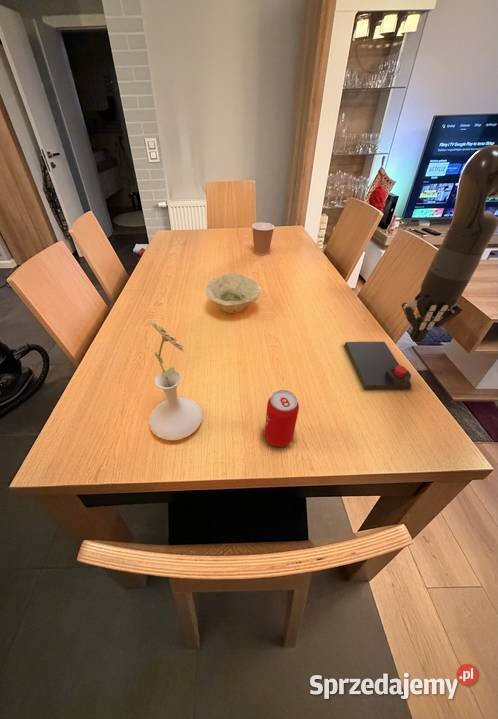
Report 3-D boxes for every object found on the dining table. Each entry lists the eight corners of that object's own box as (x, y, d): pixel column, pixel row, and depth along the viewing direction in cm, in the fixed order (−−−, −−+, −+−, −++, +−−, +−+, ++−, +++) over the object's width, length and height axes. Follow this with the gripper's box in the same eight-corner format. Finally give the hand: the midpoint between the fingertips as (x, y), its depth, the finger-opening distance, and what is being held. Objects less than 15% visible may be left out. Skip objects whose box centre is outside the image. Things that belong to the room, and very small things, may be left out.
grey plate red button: (410, 390, 77) (415, 380, 75) (365, 391, 77) (369, 381, 74) (382, 345, 91) (386, 336, 89) (344, 346, 90) (347, 336, 88)
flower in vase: (208, 435, 65) (199, 345, 49) (154, 451, 62) (125, 360, 45) (194, 393, 74) (183, 305, 58) (147, 405, 71) (120, 315, 54)
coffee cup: (264, 246, 149) (265, 221, 141) (276, 253, 143) (279, 227, 135) (246, 250, 145) (247, 224, 137) (258, 257, 138) (260, 231, 130)
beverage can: (285, 421, 68) (292, 385, 61) (297, 444, 64) (306, 408, 56) (260, 428, 67) (263, 391, 59) (270, 451, 62) (275, 415, 55)
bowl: (243, 308, 113) (272, 295, 103) (212, 326, 101) (240, 313, 90) (226, 274, 110) (253, 257, 100) (192, 288, 98) (218, 270, 88)
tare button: (406, 377, 76) (408, 372, 75) (395, 378, 76) (398, 373, 75) (401, 370, 78) (403, 365, 77) (391, 370, 78) (393, 365, 77)
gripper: (427, 278, 55) (394, 350, 67) (495, 279, 56) (451, 350, 68) (409, 261, 61) (381, 330, 72) (471, 262, 62) (434, 330, 73)
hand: (415, 340), depth 70 cm, fingers closed
